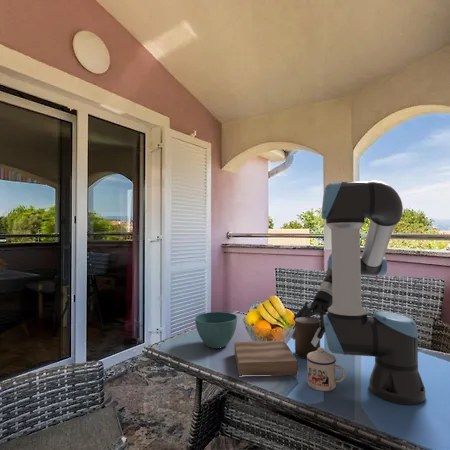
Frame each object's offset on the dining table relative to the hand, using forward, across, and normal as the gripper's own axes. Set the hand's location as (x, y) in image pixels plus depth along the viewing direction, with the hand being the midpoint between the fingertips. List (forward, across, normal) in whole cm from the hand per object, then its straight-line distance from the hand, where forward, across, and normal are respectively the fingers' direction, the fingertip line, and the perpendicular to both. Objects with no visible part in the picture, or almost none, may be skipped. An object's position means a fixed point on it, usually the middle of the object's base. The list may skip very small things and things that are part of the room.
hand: (302, 341), depth 127 cm
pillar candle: (+2, 0, -6) cm, 7 cm away
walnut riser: (+16, +4, +8) cm, 19 cm away
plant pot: (+18, +31, +9) cm, 37 cm away
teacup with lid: (+14, -20, +5) cm, 25 cm away
